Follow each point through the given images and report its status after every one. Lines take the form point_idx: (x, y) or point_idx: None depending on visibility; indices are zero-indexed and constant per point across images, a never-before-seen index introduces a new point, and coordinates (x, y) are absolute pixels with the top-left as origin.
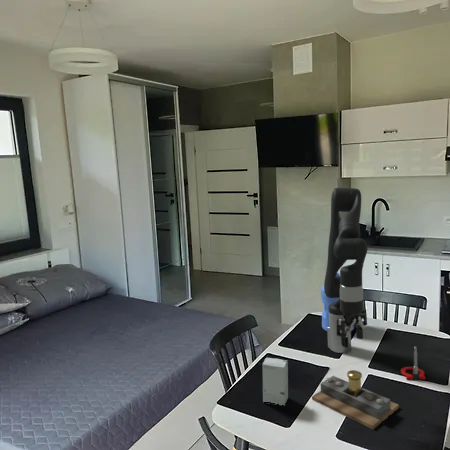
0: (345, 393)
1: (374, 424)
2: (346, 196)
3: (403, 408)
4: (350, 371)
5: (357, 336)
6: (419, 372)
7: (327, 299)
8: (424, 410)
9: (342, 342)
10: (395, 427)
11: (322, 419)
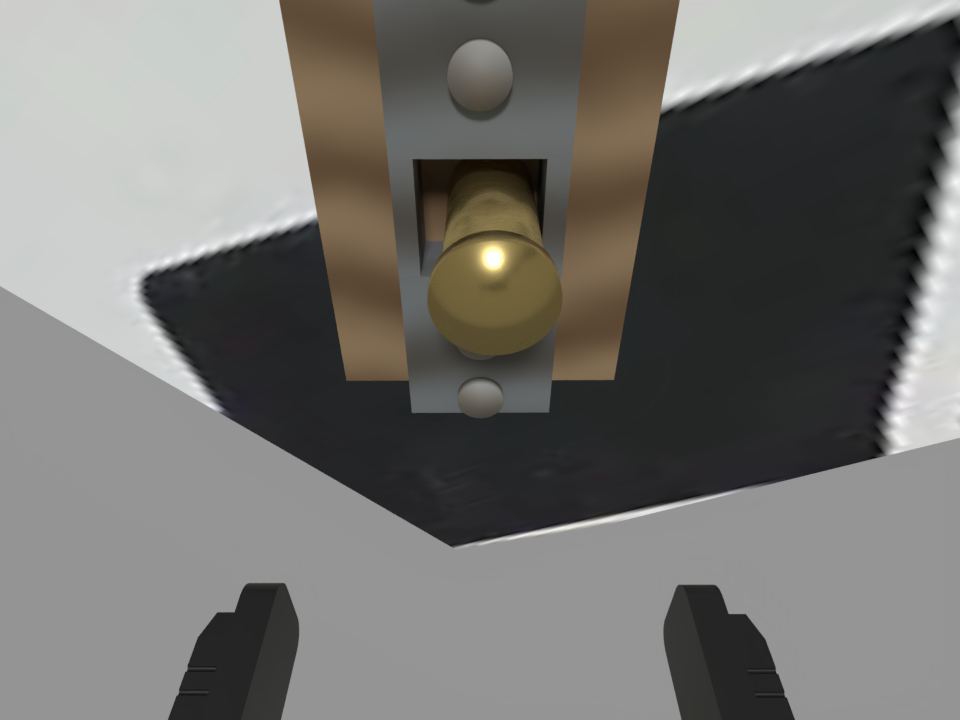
0: (405, 194)
1: (364, 379)
2: None
3: (621, 381)
4: (509, 254)
5: (684, 621)
6: None
7: None
8: (663, 441)
9: (188, 691)
10: (446, 418)
11: (167, 130)
